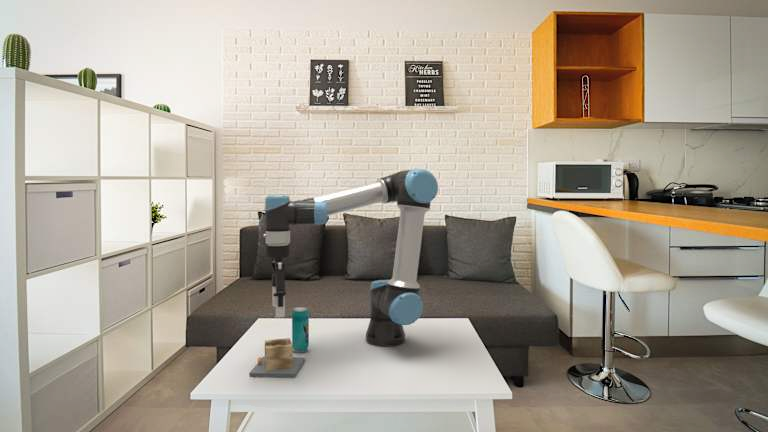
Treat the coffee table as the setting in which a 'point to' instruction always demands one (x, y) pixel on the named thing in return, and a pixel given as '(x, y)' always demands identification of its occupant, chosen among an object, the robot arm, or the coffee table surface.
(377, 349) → the coffee table surface
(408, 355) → the coffee table surface
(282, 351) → the wooden square frame
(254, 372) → the post base
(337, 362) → the coffee table surface
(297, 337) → the beverage can
